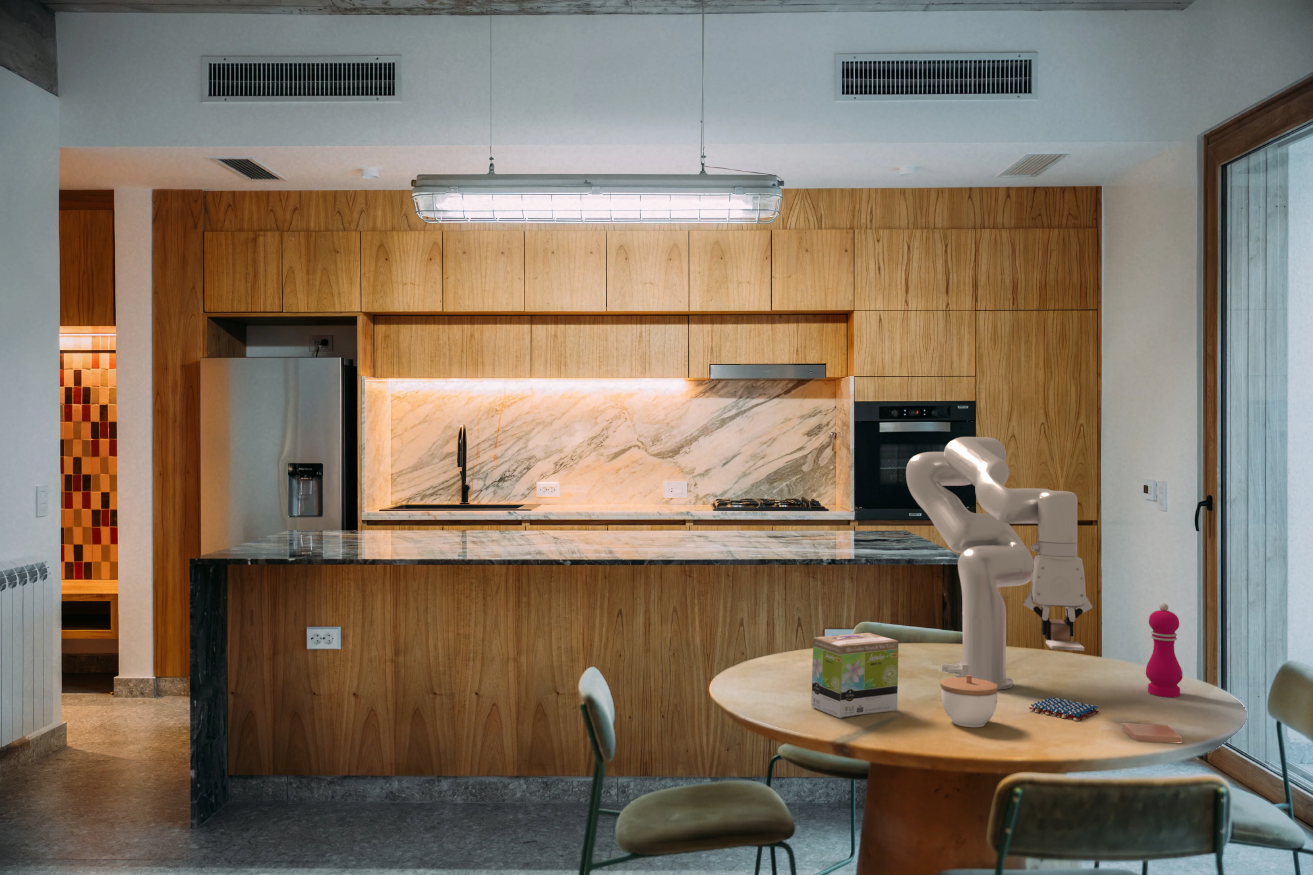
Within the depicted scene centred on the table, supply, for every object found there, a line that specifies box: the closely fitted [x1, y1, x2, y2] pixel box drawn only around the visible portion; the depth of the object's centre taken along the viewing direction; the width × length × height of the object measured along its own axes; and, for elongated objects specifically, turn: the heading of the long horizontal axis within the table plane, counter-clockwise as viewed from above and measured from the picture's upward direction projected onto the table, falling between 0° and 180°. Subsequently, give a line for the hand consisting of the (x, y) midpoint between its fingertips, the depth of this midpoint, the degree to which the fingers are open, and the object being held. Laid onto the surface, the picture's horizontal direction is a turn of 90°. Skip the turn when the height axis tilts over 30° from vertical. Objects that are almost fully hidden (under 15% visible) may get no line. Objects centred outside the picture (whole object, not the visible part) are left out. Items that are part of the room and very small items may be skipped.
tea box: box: [810, 632, 900, 719], centre depth 196 cm, size 15×10×15 cm
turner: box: [1045, 618, 1085, 651], centre depth 194 cm, size 6×15×4 cm, turn 168°
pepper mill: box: [1145, 603, 1184, 698], centre depth 211 cm, size 7×7×20 cm
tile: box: [1122, 722, 1183, 743], centre depth 179 cm, size 8×2×8 cm
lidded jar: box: [940, 675, 999, 728], centre depth 187 cm, size 11×11×9 cm
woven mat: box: [1028, 696, 1099, 722], centre depth 195 cm, size 10×11×2 cm
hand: (1057, 638), depth 197 cm, fingers closed on turner, 3 cm apart
